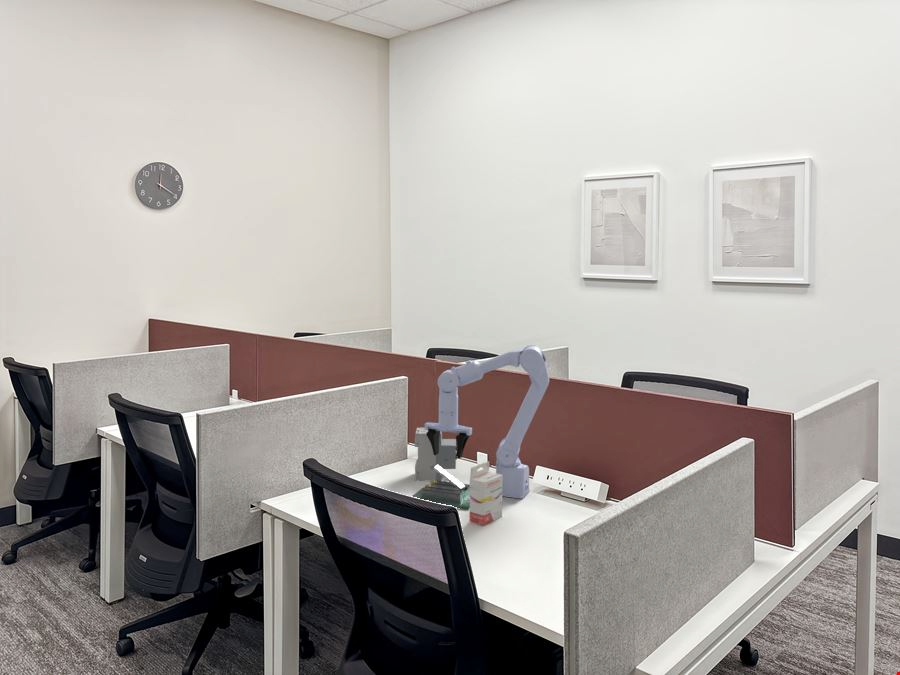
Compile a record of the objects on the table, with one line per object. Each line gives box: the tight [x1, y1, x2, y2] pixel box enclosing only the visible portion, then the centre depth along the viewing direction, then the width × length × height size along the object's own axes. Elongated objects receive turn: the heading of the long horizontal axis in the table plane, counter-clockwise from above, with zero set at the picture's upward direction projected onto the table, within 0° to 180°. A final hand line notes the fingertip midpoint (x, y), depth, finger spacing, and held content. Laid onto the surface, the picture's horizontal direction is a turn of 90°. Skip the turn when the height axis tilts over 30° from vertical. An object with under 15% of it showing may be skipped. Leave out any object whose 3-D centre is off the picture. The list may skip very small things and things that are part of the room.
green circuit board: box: [411, 480, 470, 511], centre depth 202 cm, size 18×13×4 cm
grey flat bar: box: [434, 465, 466, 490], centre depth 201 cm, size 10×3×1 cm
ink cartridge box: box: [469, 461, 503, 527], centre depth 185 cm, size 9×5×15 cm, turn 141°
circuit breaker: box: [414, 427, 458, 482], centre depth 221 cm, size 8×14×15 cm, turn 89°
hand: (447, 456), depth 208 cm, fingers open, 7 cm apart
